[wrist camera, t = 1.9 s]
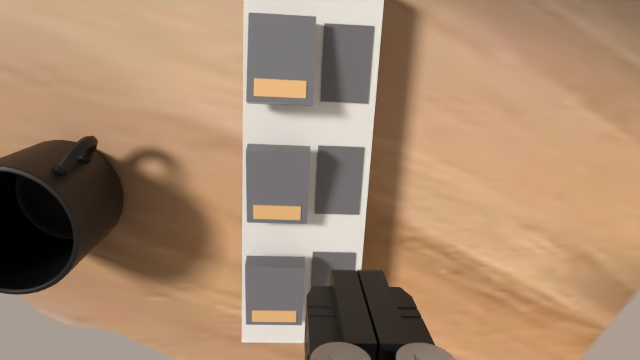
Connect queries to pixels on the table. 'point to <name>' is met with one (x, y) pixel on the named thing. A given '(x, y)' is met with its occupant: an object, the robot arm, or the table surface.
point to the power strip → (319, 147)
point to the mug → (53, 211)
